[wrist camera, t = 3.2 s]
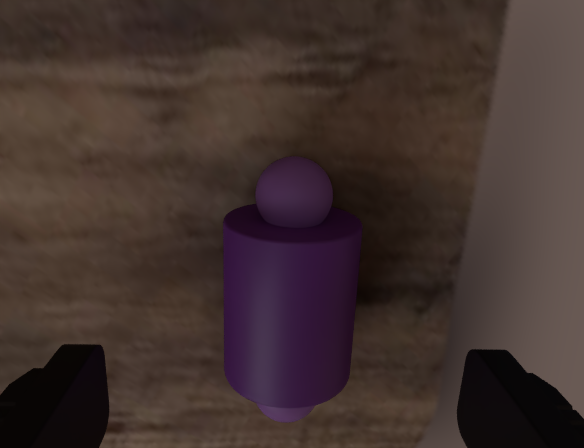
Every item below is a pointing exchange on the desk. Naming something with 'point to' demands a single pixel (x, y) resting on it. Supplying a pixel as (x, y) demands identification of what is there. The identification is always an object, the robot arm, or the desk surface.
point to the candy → (290, 291)
